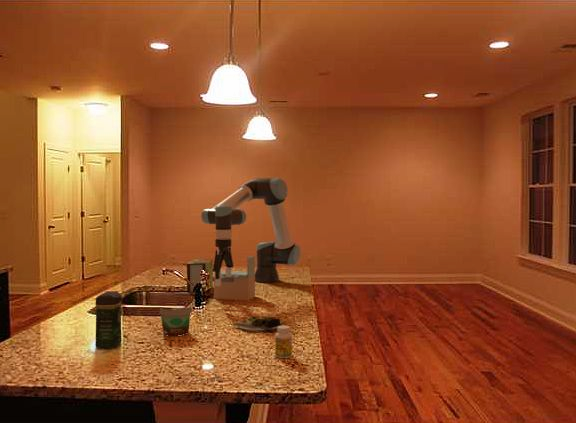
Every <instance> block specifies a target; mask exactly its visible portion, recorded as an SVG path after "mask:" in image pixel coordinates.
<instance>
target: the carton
mask: <svg viewBox="0 0 576 423" xmlns="http://www.w3.org/2000/svg"><path fill="white" fill-rule="evenodd" d="M246 264H247V265H246V266H247V269H246V270H247V271H246V272H247V278H237V279H235V280H234V282H221V286H215V281H213V299H214V298H215V300H231V301H248V302H249V301H250V300H251V299H253V298H254V297H256V281H255V272H256V256H255V254H254V255H251V256H249V257H247V262H246Z"/></svg>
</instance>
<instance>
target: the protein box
mask: <svg viewBox="0 0 576 423" xmlns="http://www.w3.org/2000/svg"><path fill="white" fill-rule="evenodd" d="M213 266H214V260H213V259H193V260H191V261H189V262H187V263H186V280H187V279H188V280H189V281H190V282H191V283H192V284H196V283H198V282H201V277H200V270H204V271H207V272H209V275H210V287H211V289H212V288H214V281H213V276H214V272H213ZM192 284H189V283H188V282H187V281H186V292H187V293H194V292H193V285H192Z"/></svg>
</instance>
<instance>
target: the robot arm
mask: <svg viewBox="0 0 576 423" xmlns="http://www.w3.org/2000/svg"><path fill="white" fill-rule="evenodd" d="M287 197H288V186H287V183H286V182H285V180H284V179H282V178H280V177H279V178H277V177H267V178H265V177H264V178H263V177H261V178H260V177H258V178H253V179H251V180H248V181H247V182H245V183H243V184H241V185H240V186H239V187H238V188H237V190H236V191H235V192H233V193H232V194H230V195H229V196H228V197H226V198H225V199H223V200H222V201H221V202H219V203H218V204H216V205H215V206H213V207H212V208H204V209H203V210H202V212H201V215H200V216H201V221H202V222H203V223H204V224H208V225H215V230H214V234H215V240H214V244H215V247H216V248H218V249H216V250H215V253H214V254H215V255H214V260H213V273H214V276H215V286H221V271H222V270H221V269H222V267H223V266H222V265H223V262H224V264H225V271H226V277H231V271H232V268H234V260H233V256H232V248H231V247H232V238H233V237H232V226H237V225H243V224H245V222H246V219H247V214H246V211H244V210H243V209H240V207H241V206H242V205H244V204H245V203H247V202H250V201H252V200H263V201H264V204H265V205H266V206H267V207H268V210H269V215H270V219H271V224H272V228H273V233H274V236H275V241H266V242H260V243H258V244H257V245H256V268H255V283H256V282H257V283H276V282H279V281H280V275H279V273H278V269H277V265H286V266H287V265H288V266H295V265H296V264H297V263H298V262H299V260H300V256H301V248H300V246H299V245H297V244H295V240H294V239H293V238H292V236H291V233H290V228H289V223H288V222H289V221H288V218H287V214H286V209H285V205H284V203H285V201H286V199H287Z"/></svg>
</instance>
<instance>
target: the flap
mask: <svg viewBox="0 0 576 423" xmlns="http://www.w3.org/2000/svg"><path fill="white" fill-rule="evenodd" d="M220 272H221V282H234V280H235V279H237V278H247V271H245V270H243V271H242V270H231V277H226V270H220ZM214 281H215V275H213V282H214Z"/></svg>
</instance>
